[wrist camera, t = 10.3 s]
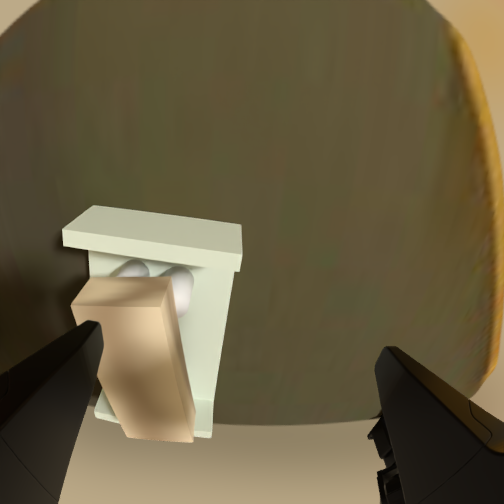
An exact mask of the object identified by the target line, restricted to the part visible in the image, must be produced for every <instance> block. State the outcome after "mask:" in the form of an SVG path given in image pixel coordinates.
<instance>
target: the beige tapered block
mask: <svg viewBox="0 0 504 504" xmlns="http://www.w3.org/2000/svg"><path fill="white" fill-rule="evenodd" d="M71 308H72V311H73V314H74V317H75V320H76V323H77V326H78V325H80V324H81V323H83V322H85V321H86V320H93V321H98V322H100V324H101V327H102V333H103V339H104V349H103V353H102V357H101V361H100V365H99V369H98V373H97V376H98V379H99V381H100V383H101V385H102V388H103V390H104V392H105V394H106V396H107V398H108V400H109V403H110V405H111V407H112V409H113V411H114V413H115V415H116V417H117V419H118V421H119V422H120V424H121V426H122V428H123V430H124V432H125V434H126V436H127V437H130V438H139V439H149V440H159V441H172V442H192V443H193V437H194V426H195V415H196V410H195V405H194V401H193V396H192V392H191V387H190V382H189V377H188V372H187V367H186V362H185V357H184V352H183V346H182V341H181V335H180V329H179V324H178V318H177V311H176V305H175V299H174V292H173V285H172V278H171V276H168V277H91V278H90V279H89V280H88V282H87V283H86V284H85V286H84V287H83V288H82V290H81V291H80V293H79V294H78V295H77V297H76V298H75V299H74V301H73V302H72V304H71Z"/></svg>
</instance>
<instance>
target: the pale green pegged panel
mask: <svg viewBox="0 0 504 504" xmlns="http://www.w3.org/2000/svg"><path fill="white" fill-rule="evenodd" d="M62 232H63V246H67V247H73V248H80V249H86V250H88V252H89V269H90V278H91V277H168V276H171V278H172V285H173V292H174V299H175V305H176V311H177V318H178V324H179V329H180V335H181V341H182V346H183V352H184V357H185V362H186V367H187V372H188V377H189V382H190V387H191V392H192V396H193V401H194V405H195V410H196V415H195V426H194V436H196V437H205V438H211V435H212V422H213V401H214V394H215V388H216V382H217V375H218V369H219V362H220V356H221V350H222V344H223V337H224V331H225V325H226V319H227V313H228V307H229V300H230V294H231V288H232V282H233V276H234V271H236V272H239V271H240V265H241V260H242V234H241V225H240V224H233V223H226V222H219V221H212V220H205V219H197V218H190V217H183V216H175V215H168V214H160V213H152V212H144V211H137V210H129V209H120V208H112V207H104V206H95V205H93V206H92V207H90V208H89V209H88V210H86V211H85V212H84V213H83V214H81V215H80V216H79V217H77V218H76V219H75V220H73V221H72V222H71V223H70V224H68V225H67V226H66V227H65V228H63V229H62ZM94 413H95V416H96V418H100V419H104V420H108V421H112V422H116V423H120V422H119V421H118V419H117V417H116V415H115V413H114V411H113V409H112V407H111V405H110V403H109V400H108V398H107V396H106V394H105V392H104V390H103V388H102V391H101V394H100V396H99V399H98V402H97V404H96V407H95V410H94Z"/></svg>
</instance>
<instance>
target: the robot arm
mask: <svg viewBox="0 0 504 504" xmlns="http://www.w3.org/2000/svg"><path fill="white" fill-rule="evenodd" d="M103 349H104V339H103V333H102V327H101V324H100V322H98V321H93V320H86V321H85V322H83V323H81V324H80V325H78V326H77V327H75V328H73V329H72V330H70V331H69V332H67V333H65V334H64V335H62V336H61V337H59V338H57V339H56V340H54V341H53V342H51V343H50V344H48V345H46V346H45V347H43V348H42V349H40V350H39V351H37V352H35V353H34V354H32V355H31V356H29V357H28V358H26V359H25V360H23V361H21V362H20V363H18V364H17V365H15V366H14V367H12V368H11V369H9V371H6V372H4V373H3V374H1V375H0V504H58V501H59V498H60V494H61V490H62V487H63V483H64V479H65V476H66V472H67V468H68V465H69V461H70V458H71V455H72V451H73V449H74V445H75V442H76V439H77V436H78V433H79V429H80V427H81V424H82V421H83V418H84V415H85V412H86V409H87V406H88V404H89V401H90V398H91V395H92V392H93V389H94V385H95V381H96V377H97V373H98V369H99V365H100V361H101V357H102V353H103ZM375 375H376V381H377V386H378V391H379V397H380V403H381V408H382V412H383V415H382V416H381V418H380V419H379V421H378V422H377V424H376V425H375V426H374V427H373V429H372V430H371V431H370V433H369V434H368V436H367V437H368V439H369V440H370V439H374V442H375V445H376V448H377V451H378V454H379V457H380V458H381V459H384V462H385V465H386V469H383V470H380V471H378V472H377V475H378V477H377V480H378V486H379V492H380V504H504V422H502V421H501V420H499V419H497V418H496V417H494V416H493V415H491V414H490V413H488V412H486V411H485V410H484V409H482V408H481V407H479V406H478V405H476V404H475V403H474V402H472V401H471V400H468V398H467V397H465V396H464V395H463V394H461V393H460V392H458V391H457V390H456V389H454V388H453V387H452V386H450V385H449V384H447V383H446V382H445V381H443V380H442V379H441V378H439V377H438V376H436V375H435V374H434V373H432V372H431V371H429V370H428V369H427V368H425V367H424V366H423V365H421V364H420V363H418V362H417V361H416V360H414V359H413V358H411V357H410V356H409V355H407V354H406V353H405V352H403V351H402V350H400V349H399V348H398V347H396V346H386V347H384V348H383V350H382V352H381V354H380V356H379V358H378V360H377V362H376V364H375Z"/></svg>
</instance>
